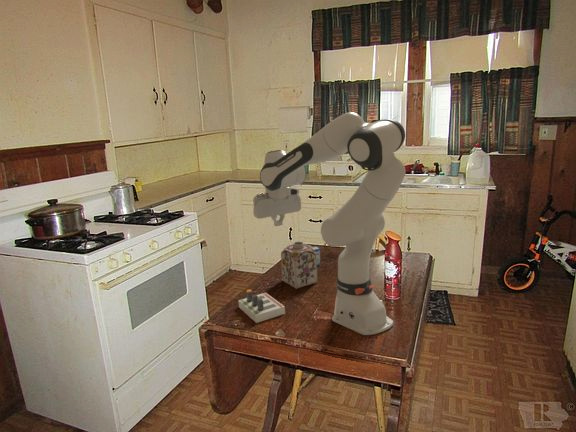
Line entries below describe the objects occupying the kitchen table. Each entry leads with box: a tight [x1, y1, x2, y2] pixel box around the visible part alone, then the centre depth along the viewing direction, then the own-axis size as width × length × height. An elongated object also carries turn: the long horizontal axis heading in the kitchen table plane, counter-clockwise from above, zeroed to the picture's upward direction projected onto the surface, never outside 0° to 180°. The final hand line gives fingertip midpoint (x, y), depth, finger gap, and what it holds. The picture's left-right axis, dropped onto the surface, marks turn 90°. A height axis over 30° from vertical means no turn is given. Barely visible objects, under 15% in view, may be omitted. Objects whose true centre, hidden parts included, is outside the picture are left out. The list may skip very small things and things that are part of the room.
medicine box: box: [311, 246, 321, 267], centre depth 203 cm, size 8×4×9 cm, turn 118°
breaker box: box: [238, 292, 286, 324], centre depth 160 cm, size 15×12×7 cm
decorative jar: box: [280, 241, 318, 289], centre depth 183 cm, size 12×12×18 cm
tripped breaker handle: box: [245, 289, 253, 301], centre depth 162 cm, size 2×2×4 cm
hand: (278, 225), depth 168 cm, fingers closed
